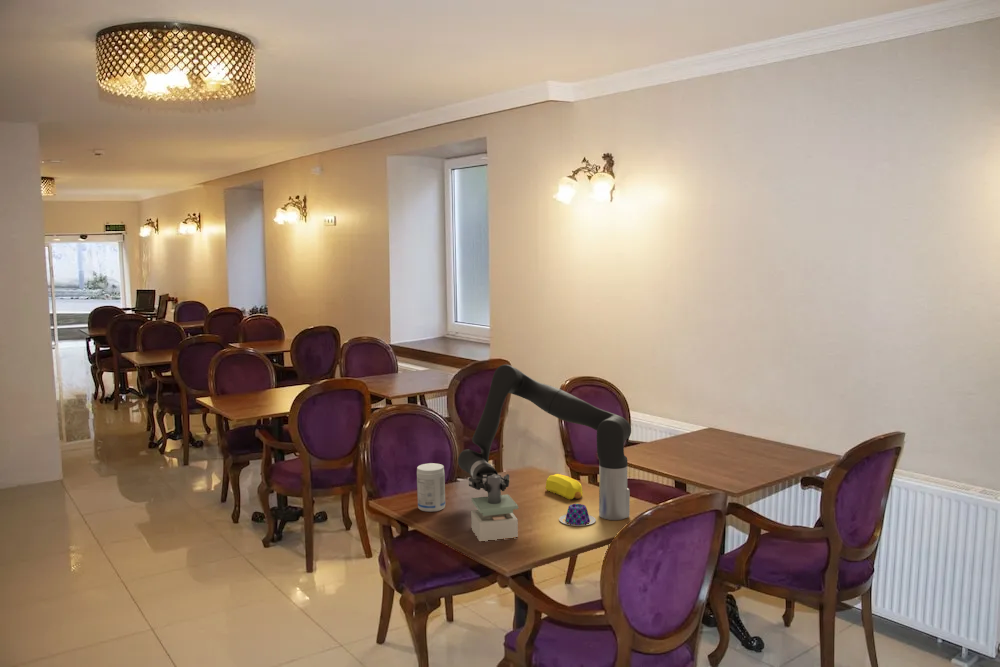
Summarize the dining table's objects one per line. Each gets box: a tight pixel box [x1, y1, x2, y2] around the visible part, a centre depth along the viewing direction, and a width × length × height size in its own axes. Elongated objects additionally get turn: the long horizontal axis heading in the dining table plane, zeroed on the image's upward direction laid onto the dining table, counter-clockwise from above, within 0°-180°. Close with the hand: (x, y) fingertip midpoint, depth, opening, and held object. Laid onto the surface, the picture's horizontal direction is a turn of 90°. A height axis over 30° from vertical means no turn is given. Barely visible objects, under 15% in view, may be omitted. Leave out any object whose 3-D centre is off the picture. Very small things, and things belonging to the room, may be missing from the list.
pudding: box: [558, 503, 597, 527], centre depth 251 cm, size 12×12×5 cm
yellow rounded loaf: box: [545, 473, 583, 500], centre depth 279 cm, size 18×7×8 cm
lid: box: [471, 474, 519, 516], centre depth 239 cm, size 12×12×10 cm
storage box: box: [470, 509, 519, 542], centre depth 240 cm, size 12×12×6 cm
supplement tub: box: [416, 462, 446, 513], centre depth 265 cm, size 10×10×15 cm
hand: (496, 488), depth 236 cm, fingers closed on lid, 4 cm apart
